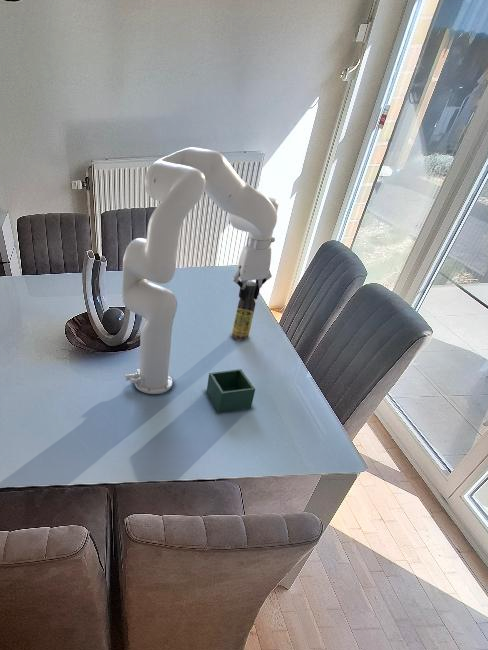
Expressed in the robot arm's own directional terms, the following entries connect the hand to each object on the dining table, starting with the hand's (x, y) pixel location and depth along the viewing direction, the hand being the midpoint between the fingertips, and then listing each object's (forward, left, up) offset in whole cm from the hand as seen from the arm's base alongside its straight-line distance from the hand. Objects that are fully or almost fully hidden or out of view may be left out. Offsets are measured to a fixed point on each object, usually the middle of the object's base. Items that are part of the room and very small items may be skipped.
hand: (248, 298), depth 163 cm
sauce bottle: (0, 0, -15) cm, 15 cm away
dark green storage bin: (-19, -38, -15) cm, 45 cm away
